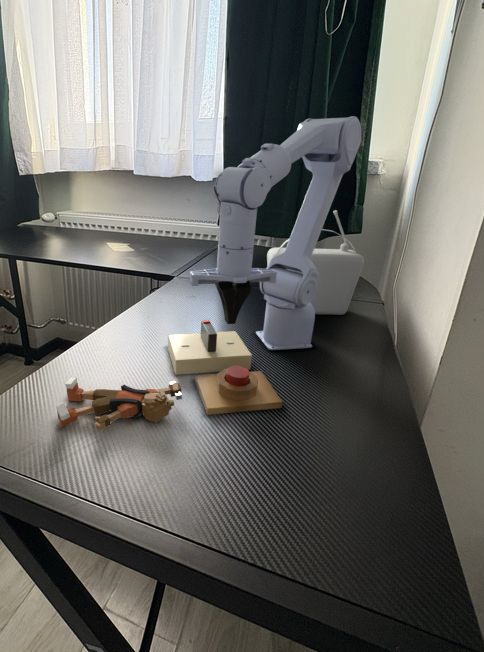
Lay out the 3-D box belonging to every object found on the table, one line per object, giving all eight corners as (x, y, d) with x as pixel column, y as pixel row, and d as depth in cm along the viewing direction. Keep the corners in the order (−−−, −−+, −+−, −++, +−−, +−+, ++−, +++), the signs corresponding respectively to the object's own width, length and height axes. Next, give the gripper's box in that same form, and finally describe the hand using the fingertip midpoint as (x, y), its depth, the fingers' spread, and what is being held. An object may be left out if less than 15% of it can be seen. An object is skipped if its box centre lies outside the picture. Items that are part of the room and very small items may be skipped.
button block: (260, 376, 67) (262, 361, 66) (281, 408, 59) (284, 392, 58) (194, 381, 65) (195, 366, 64) (206, 415, 57) (208, 398, 56)
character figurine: (79, 365, 63) (184, 368, 59) (84, 390, 65) (187, 394, 61) (41, 410, 52) (167, 417, 48) (48, 439, 54) (171, 447, 50)
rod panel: (234, 343, 78) (235, 329, 77) (250, 369, 69) (252, 354, 68) (167, 347, 76) (167, 333, 75) (175, 375, 67) (175, 359, 66)
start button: (244, 374, 63) (245, 365, 62) (251, 386, 60) (252, 377, 59) (223, 375, 62) (224, 366, 62) (229, 388, 59) (230, 378, 58)
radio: (342, 304, 100) (361, 209, 91) (354, 317, 93) (376, 214, 83) (259, 301, 101) (270, 206, 92) (265, 314, 93) (277, 211, 84)
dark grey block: (216, 351, 69) (217, 332, 67) (207, 352, 69) (208, 333, 67) (208, 336, 74) (209, 319, 73) (200, 337, 74) (201, 319, 73)
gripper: (197, 253, 56) (194, 334, 61) (288, 250, 59) (278, 329, 64) (188, 242, 63) (186, 316, 68) (270, 240, 65) (262, 312, 70)
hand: (229, 321), depth 66 cm, fingers closed
